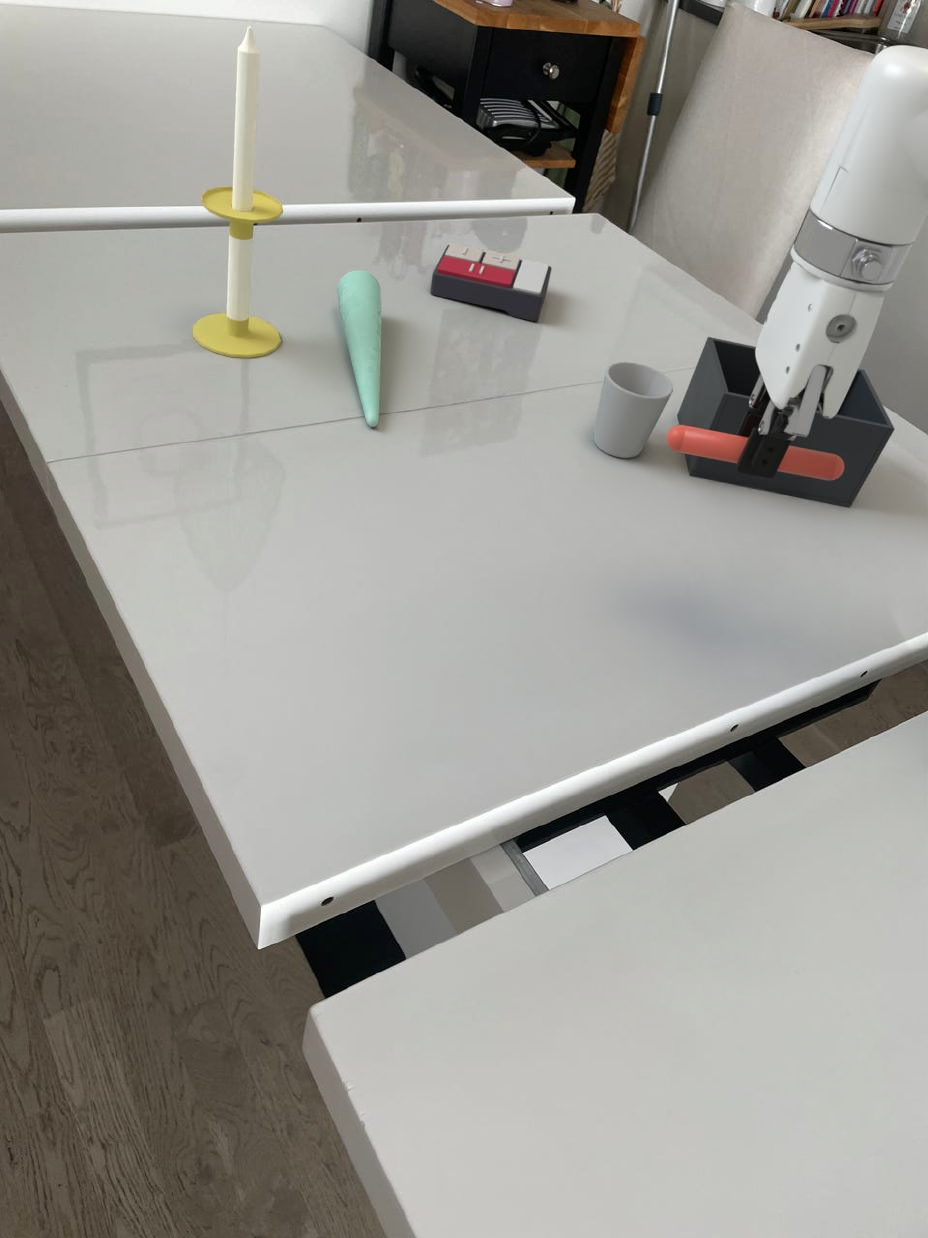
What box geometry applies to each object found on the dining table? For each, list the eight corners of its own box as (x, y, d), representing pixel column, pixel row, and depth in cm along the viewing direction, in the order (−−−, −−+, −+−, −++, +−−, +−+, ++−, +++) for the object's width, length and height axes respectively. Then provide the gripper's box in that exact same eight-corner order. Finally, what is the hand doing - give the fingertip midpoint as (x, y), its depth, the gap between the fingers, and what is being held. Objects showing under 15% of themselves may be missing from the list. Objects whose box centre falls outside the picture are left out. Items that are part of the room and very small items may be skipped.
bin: (825, 445, 122) (864, 369, 115) (850, 507, 112) (895, 428, 105) (676, 415, 121) (707, 336, 113) (689, 475, 111) (724, 393, 104)
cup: (589, 458, 109) (611, 391, 103) (578, 411, 116) (598, 346, 111) (654, 468, 110) (679, 402, 105) (639, 420, 118) (662, 356, 112)
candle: (185, 349, 109) (186, 21, 88) (199, 308, 117) (204, -4, 95) (275, 363, 111) (298, 44, 89) (284, 323, 118) (308, 18, 97)
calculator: (448, 238, 137) (553, 260, 137) (444, 268, 140) (547, 290, 140) (432, 267, 129) (544, 291, 129) (428, 298, 132) (537, 322, 131)
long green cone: (352, 382, 101) (339, 267, 120) (346, 427, 104) (334, 309, 123) (404, 387, 102) (383, 272, 121) (396, 432, 106) (377, 314, 125)
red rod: (833, 472, 83) (845, 451, 82) (839, 487, 82) (851, 465, 80) (661, 440, 82) (669, 417, 80) (664, 454, 80) (673, 431, 79)
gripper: (934, 307, 64) (814, 529, 76) (869, 217, 76) (775, 422, 88) (825, 284, 63) (722, 512, 76) (777, 197, 75) (695, 406, 87)
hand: (751, 462), depth 82 cm, fingers closed on red rod, 2 cm apart
